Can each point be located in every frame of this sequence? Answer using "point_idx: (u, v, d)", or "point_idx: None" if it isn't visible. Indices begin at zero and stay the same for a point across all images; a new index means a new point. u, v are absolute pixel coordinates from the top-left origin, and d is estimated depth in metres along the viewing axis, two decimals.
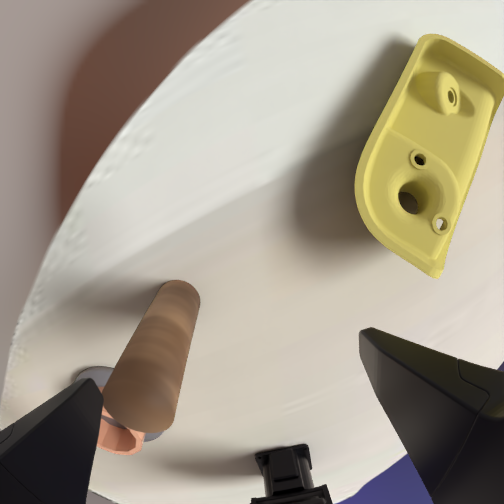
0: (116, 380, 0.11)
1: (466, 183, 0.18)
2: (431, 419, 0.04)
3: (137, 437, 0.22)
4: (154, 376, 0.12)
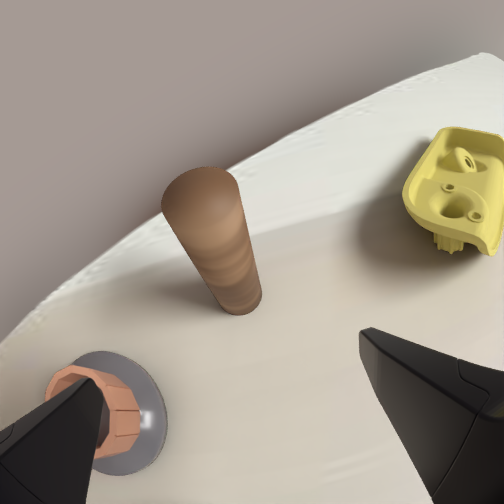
0: (198, 168, 0.14)
1: (492, 207, 0.21)
2: (431, 419, 0.04)
3: (113, 429, 0.15)
4: None
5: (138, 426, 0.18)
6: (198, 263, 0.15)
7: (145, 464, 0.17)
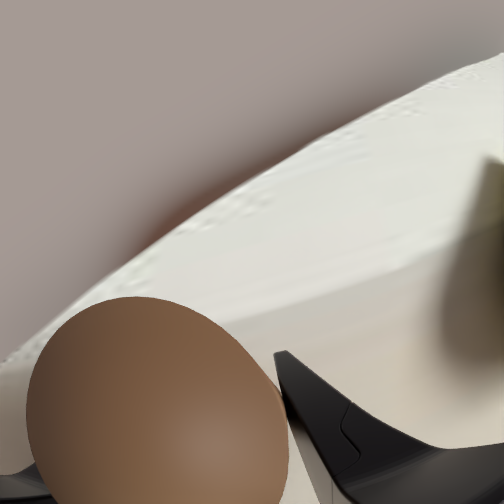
0: (122, 298, 0.04)
1: None
2: (311, 462, 0.04)
3: None
4: None
5: None
6: None
7: None
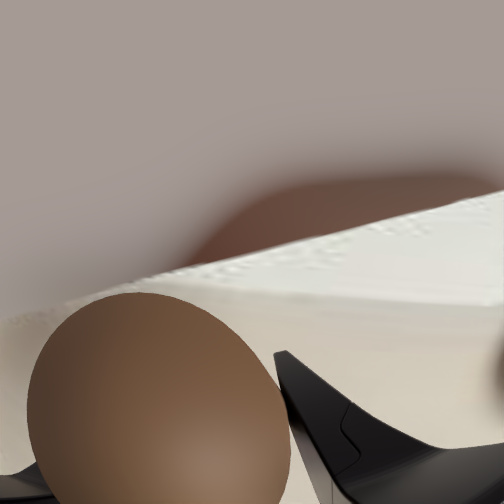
0: (123, 294, 0.04)
1: None
2: (312, 462, 0.04)
3: None
4: None
5: None
6: None
7: None
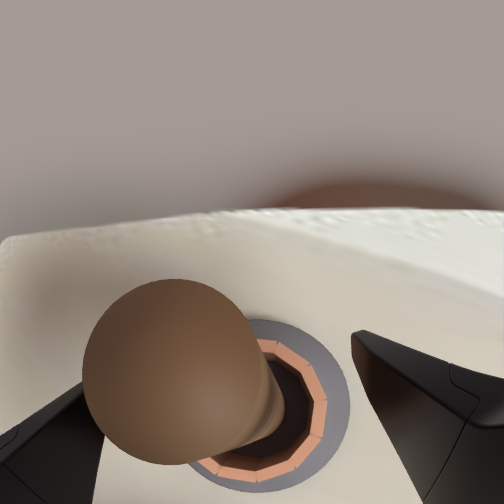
0: (160, 281, 0.06)
1: None
2: (421, 424, 0.04)
3: (297, 458, 0.11)
4: None
5: None
6: None
7: (272, 490, 0.13)
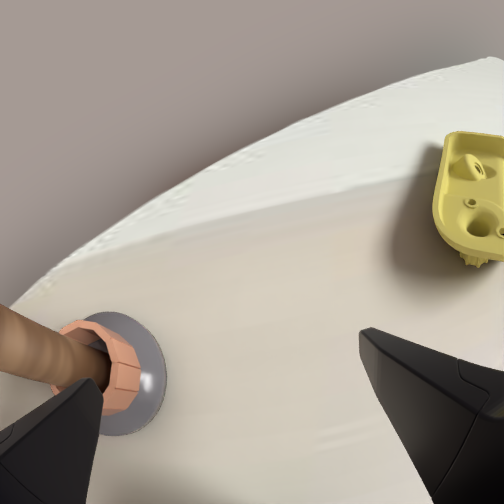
0: None
1: None
2: (431, 419, 0.04)
3: (113, 381, 0.17)
4: (6, 307, 0.11)
5: (138, 385, 0.20)
6: (28, 378, 0.12)
7: (141, 423, 0.19)
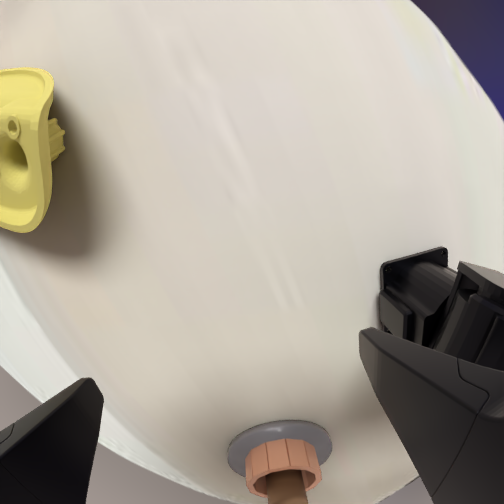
0: None
1: None
2: (431, 419, 0.04)
3: (285, 468, 0.21)
4: None
5: (279, 440, 0.24)
6: None
7: (311, 429, 0.24)
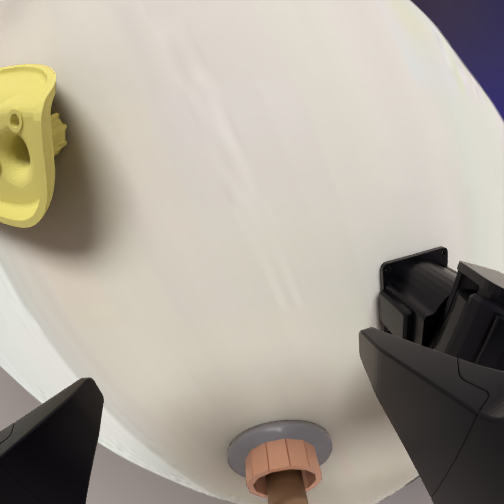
0: None
1: None
2: (431, 419, 0.04)
3: (285, 468, 0.21)
4: None
5: (279, 440, 0.24)
6: None
7: (311, 429, 0.24)
